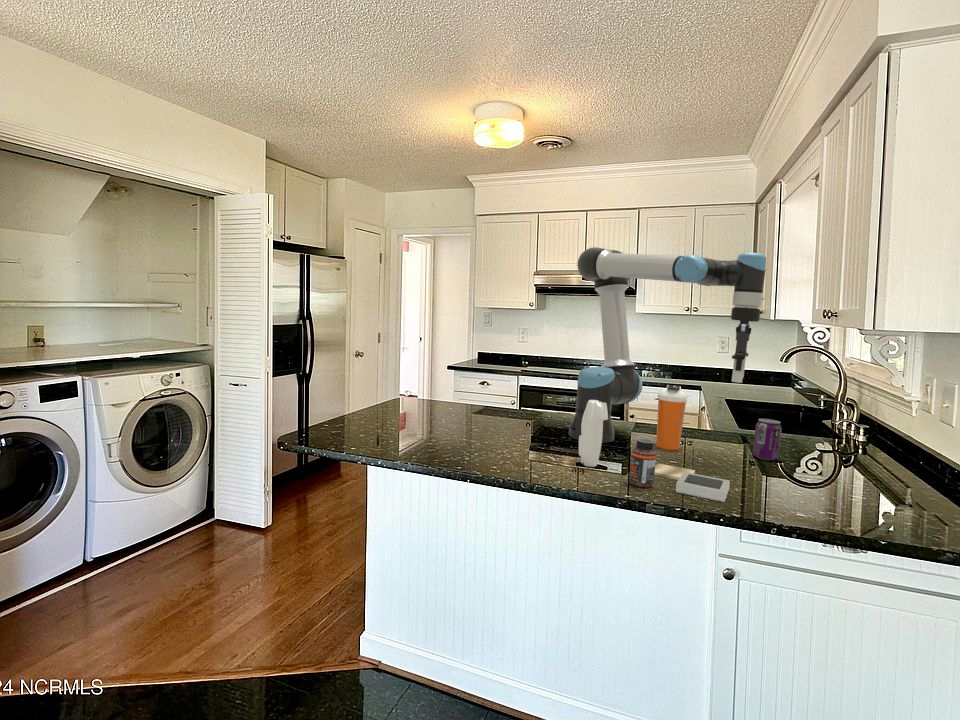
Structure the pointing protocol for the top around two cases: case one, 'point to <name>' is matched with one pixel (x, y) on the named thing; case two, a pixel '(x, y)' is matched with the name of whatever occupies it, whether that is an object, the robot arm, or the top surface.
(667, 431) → the shaker bottle
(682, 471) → the maple coaster
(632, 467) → the supplement bottle
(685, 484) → the grey tray
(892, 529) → the top surface
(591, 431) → the white bottle
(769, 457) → the beverage can
